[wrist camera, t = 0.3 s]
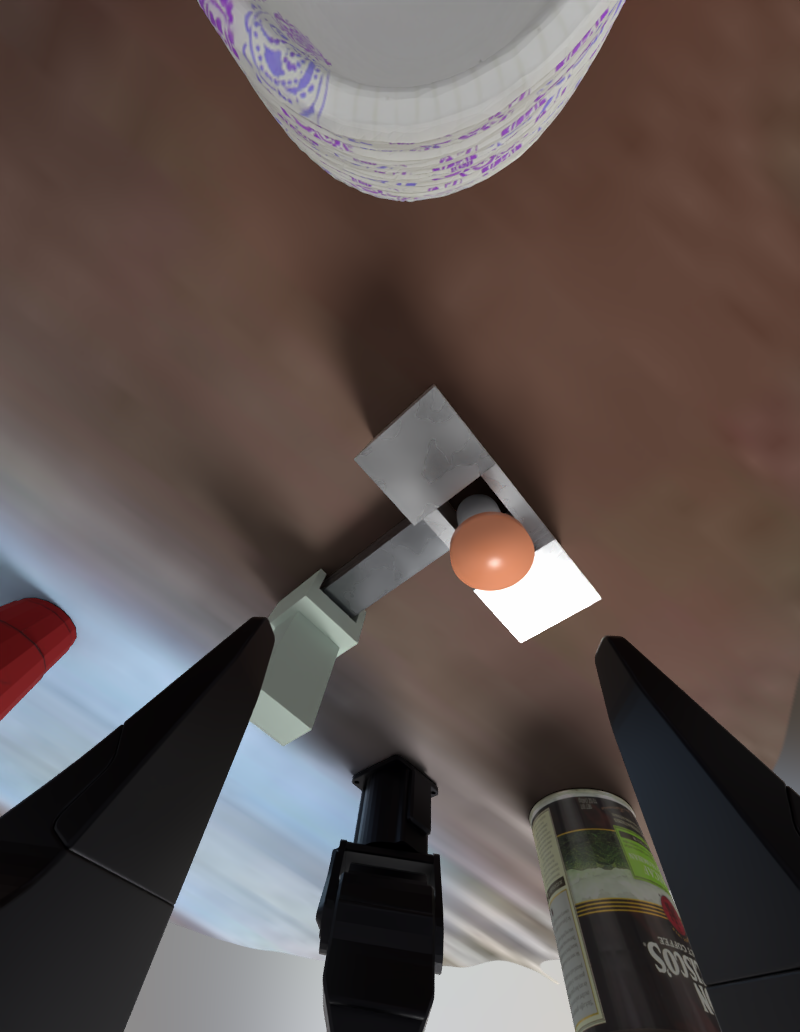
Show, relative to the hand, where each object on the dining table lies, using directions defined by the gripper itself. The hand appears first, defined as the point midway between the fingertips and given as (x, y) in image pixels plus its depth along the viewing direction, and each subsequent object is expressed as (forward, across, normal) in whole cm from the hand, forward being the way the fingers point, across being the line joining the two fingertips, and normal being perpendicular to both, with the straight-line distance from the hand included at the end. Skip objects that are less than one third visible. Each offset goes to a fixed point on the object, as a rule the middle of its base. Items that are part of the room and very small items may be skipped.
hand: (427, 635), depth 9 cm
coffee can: (+8, -15, +38) cm, 42 cm away
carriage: (+12, +9, +13) cm, 20 cm away
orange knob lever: (+11, -3, +3) cm, 11 cm away
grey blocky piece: (+14, -2, +4) cm, 15 cm away
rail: (+13, +5, +10) cm, 17 cm away
